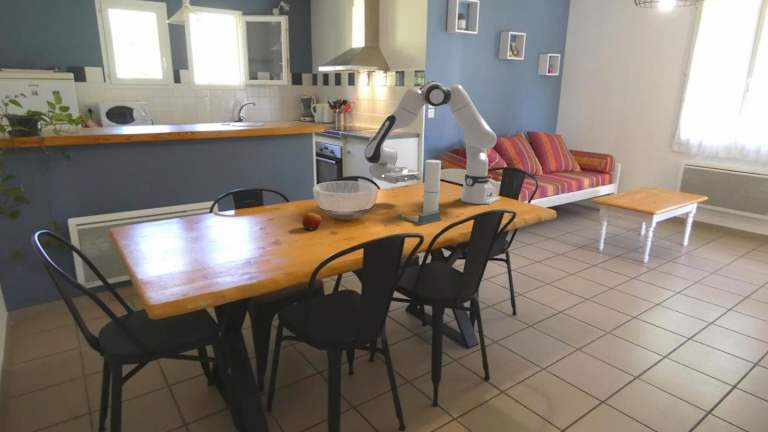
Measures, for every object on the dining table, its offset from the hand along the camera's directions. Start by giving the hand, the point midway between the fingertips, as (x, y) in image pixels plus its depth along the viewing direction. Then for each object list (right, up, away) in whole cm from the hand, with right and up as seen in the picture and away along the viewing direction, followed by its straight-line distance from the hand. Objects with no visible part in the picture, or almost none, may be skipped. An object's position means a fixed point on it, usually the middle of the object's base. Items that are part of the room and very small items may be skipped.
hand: (413, 179), depth 224 cm
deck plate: (+2, -19, -14) cm, 24 cm away
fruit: (-44, -23, -32) cm, 60 cm away
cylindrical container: (+8, -17, -5) cm, 19 cm away
